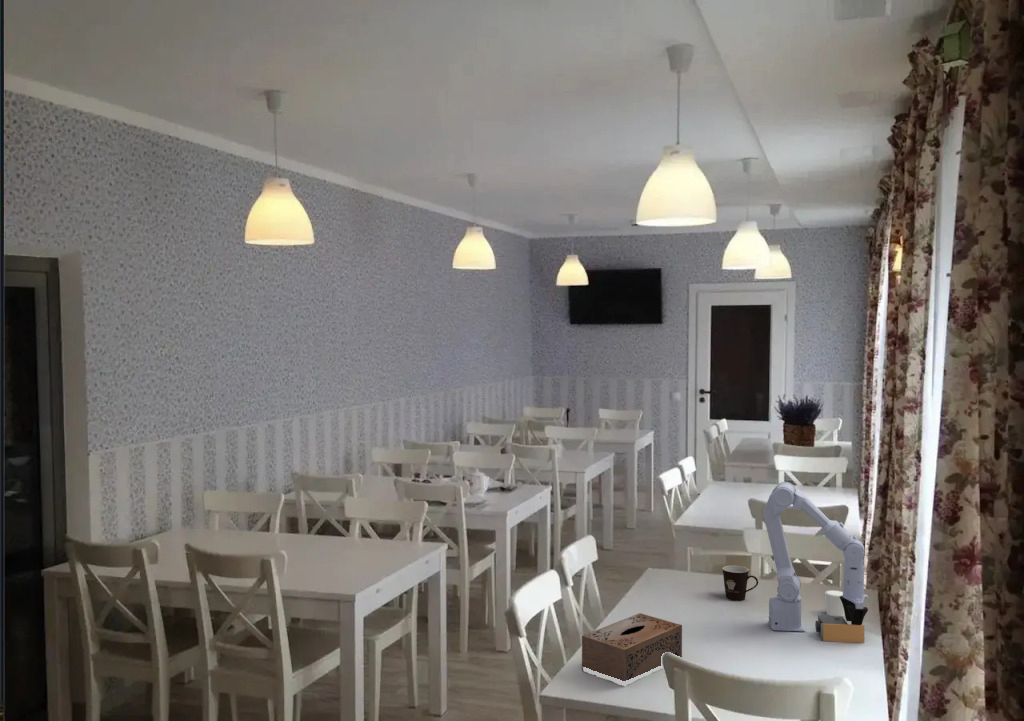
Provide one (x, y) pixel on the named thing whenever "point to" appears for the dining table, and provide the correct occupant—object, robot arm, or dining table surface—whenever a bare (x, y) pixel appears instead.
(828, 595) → the white cup
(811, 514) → the robot arm
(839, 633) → the side door
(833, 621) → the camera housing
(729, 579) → the coffee mug
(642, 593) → the dining table surface
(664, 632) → the tissue box cover
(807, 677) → the dining table surface
